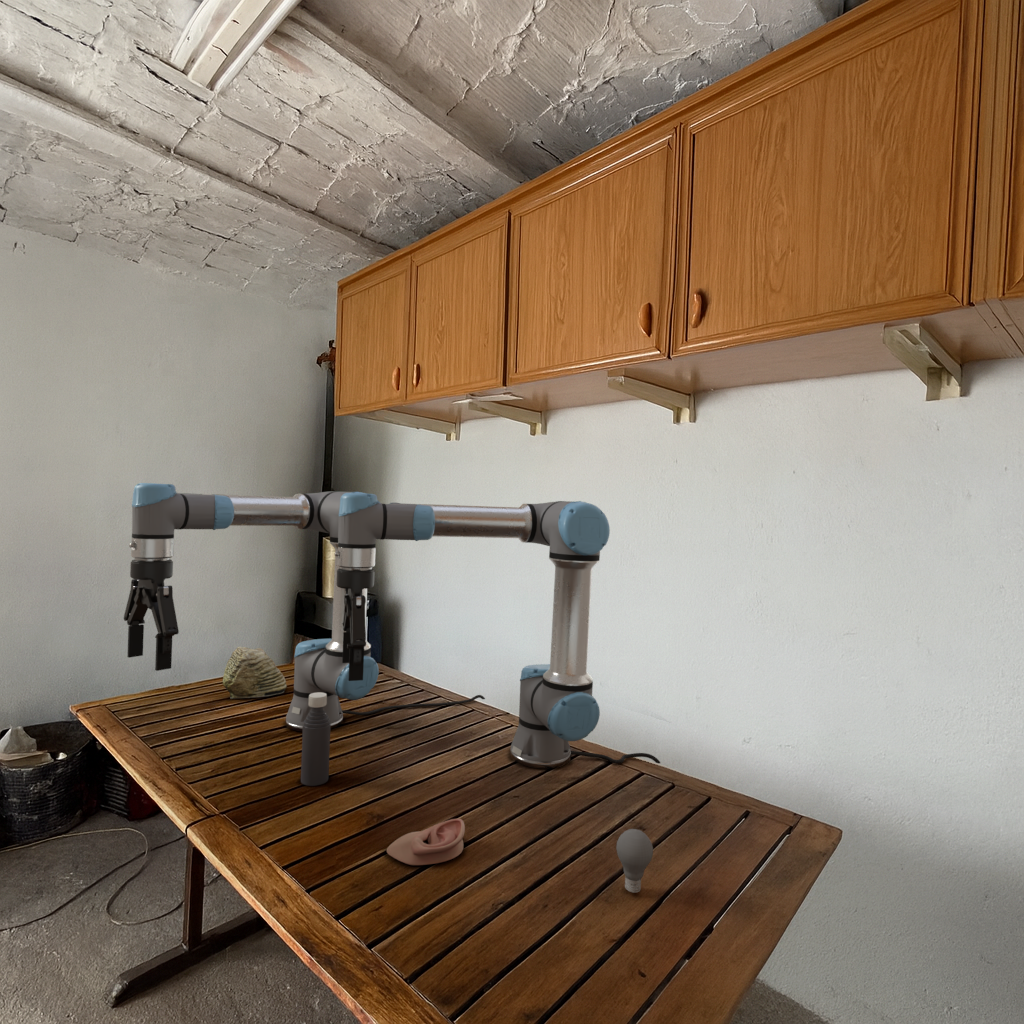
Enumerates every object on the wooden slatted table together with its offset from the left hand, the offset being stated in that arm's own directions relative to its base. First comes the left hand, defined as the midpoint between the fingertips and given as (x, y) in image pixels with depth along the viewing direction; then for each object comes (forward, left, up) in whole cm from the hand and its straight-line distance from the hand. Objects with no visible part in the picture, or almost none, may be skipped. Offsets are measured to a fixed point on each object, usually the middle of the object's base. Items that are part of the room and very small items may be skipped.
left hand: (148, 662), depth 129 cm
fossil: (-50, -47, -28) cm, 74 cm away
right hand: (-27, +32, 0) cm, 41 cm away
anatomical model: (-26, +56, -28) cm, 68 cm away
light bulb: (-41, +90, -28) cm, 103 cm away
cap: (-29, +17, -9) cm, 35 cm away
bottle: (-29, +17, -28) cm, 44 cm away
